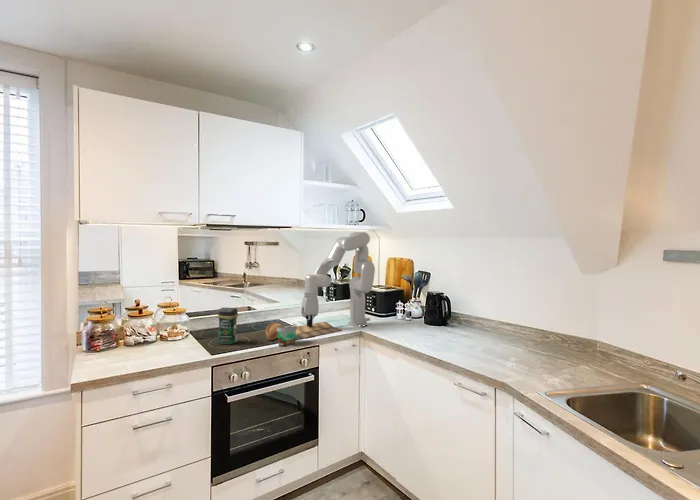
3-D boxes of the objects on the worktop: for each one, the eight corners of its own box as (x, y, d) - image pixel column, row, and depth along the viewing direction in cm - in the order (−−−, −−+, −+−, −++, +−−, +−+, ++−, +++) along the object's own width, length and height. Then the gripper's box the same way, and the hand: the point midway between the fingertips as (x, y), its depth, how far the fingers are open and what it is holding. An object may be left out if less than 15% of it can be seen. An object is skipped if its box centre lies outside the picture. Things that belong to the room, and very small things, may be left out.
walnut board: (333, 329, 219) (333, 327, 219) (341, 332, 213) (341, 329, 213) (297, 336, 202) (297, 334, 202) (305, 339, 196) (305, 337, 196)
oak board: (325, 323, 226) (325, 321, 225) (332, 328, 220) (333, 326, 219) (289, 330, 208) (289, 327, 208) (296, 336, 203) (297, 333, 202)
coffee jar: (215, 344, 186) (215, 308, 185) (222, 340, 193) (222, 305, 193) (233, 345, 184) (233, 309, 184) (239, 340, 192) (239, 306, 192)
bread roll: (261, 341, 193) (261, 326, 193) (271, 333, 208) (271, 320, 207) (278, 342, 191) (278, 327, 191) (287, 334, 206) (287, 321, 206)
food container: (284, 349, 179) (284, 329, 179) (276, 346, 183) (276, 327, 183) (302, 343, 189) (302, 324, 189) (293, 341, 193) (294, 323, 192)
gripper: (317, 294, 222) (316, 323, 222) (296, 295, 212) (295, 326, 212) (324, 295, 216) (323, 325, 216) (303, 297, 206) (302, 328, 206)
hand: (309, 326), depth 214 cm, fingers closed
